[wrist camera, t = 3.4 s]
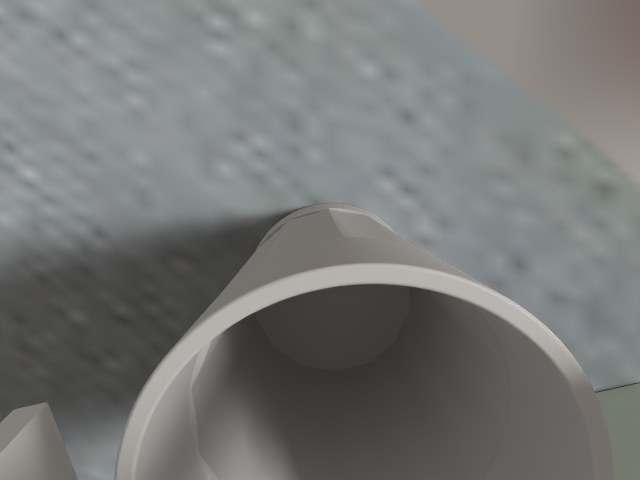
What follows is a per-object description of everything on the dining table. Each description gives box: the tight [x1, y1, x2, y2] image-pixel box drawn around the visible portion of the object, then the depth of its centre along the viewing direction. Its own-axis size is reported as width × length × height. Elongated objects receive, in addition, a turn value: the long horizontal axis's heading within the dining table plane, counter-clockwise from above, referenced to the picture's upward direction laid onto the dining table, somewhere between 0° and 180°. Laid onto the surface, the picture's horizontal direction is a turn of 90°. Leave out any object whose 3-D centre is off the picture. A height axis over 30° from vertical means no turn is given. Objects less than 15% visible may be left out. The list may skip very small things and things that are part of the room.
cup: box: [114, 203, 613, 480], centre depth 14 cm, size 8×8×12 cm
